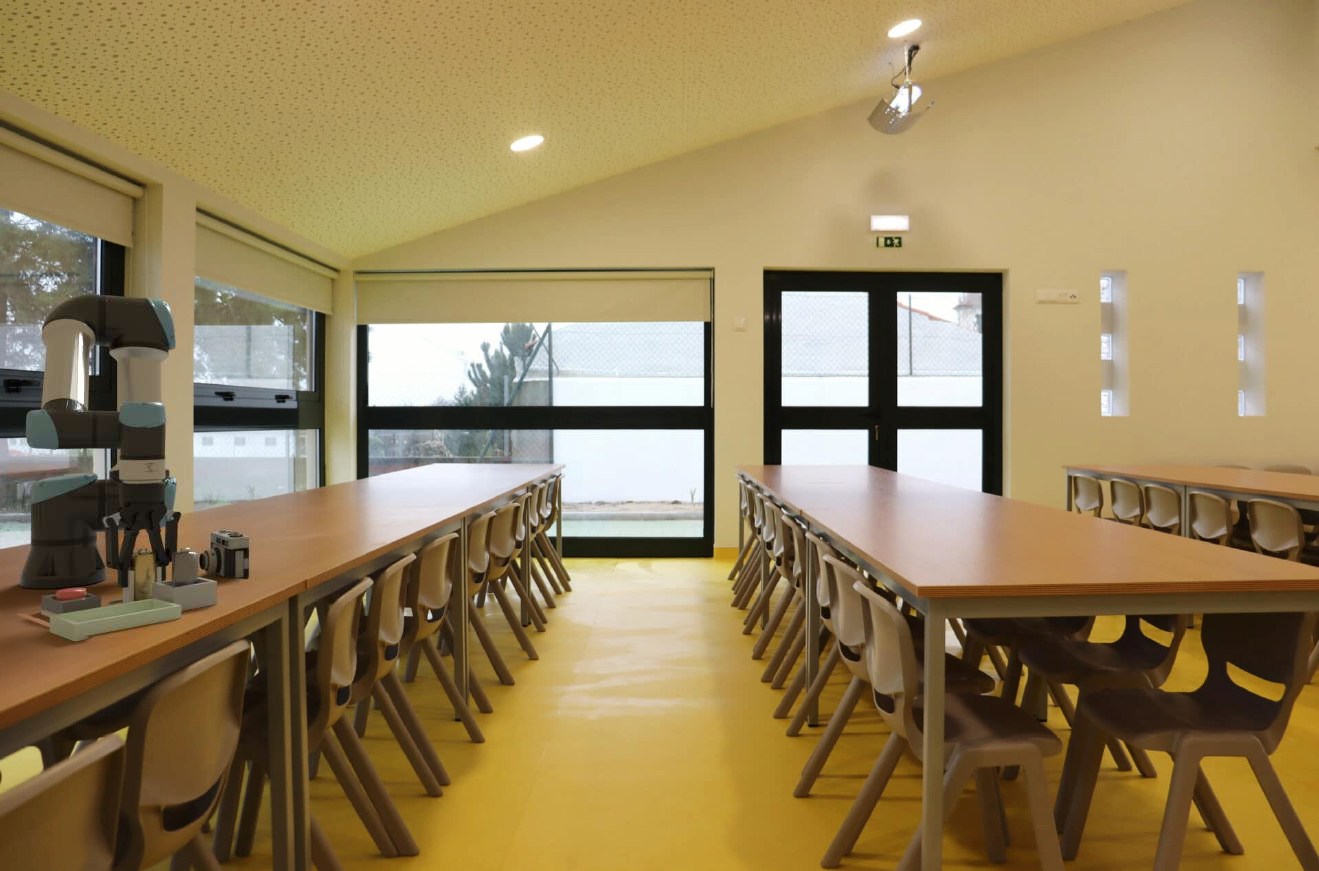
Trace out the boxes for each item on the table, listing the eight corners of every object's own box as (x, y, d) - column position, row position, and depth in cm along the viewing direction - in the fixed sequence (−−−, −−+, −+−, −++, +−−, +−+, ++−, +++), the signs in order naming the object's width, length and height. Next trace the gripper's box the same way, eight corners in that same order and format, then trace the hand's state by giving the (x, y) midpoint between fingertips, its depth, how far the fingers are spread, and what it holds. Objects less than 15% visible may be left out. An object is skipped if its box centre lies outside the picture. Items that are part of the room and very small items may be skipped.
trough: (49, 632, 136) (49, 615, 136) (155, 613, 150) (155, 598, 150) (74, 641, 131) (74, 624, 131) (181, 621, 145) (181, 605, 145)
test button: (52, 601, 147) (52, 590, 147) (79, 597, 150) (79, 586, 150) (62, 605, 144) (62, 593, 144) (90, 600, 148) (90, 589, 148)
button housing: (37, 615, 147) (37, 596, 147) (79, 608, 152) (79, 590, 152) (58, 623, 142) (58, 603, 142) (101, 616, 147) (101, 597, 147)
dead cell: (167, 605, 154) (167, 548, 154) (191, 601, 157) (192, 546, 157) (177, 608, 151) (178, 550, 151) (202, 604, 155) (202, 548, 155)
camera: (191, 573, 187) (192, 530, 187) (230, 569, 193) (230, 528, 193) (210, 583, 177) (211, 538, 177) (250, 578, 183) (251, 534, 183)
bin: (152, 609, 153) (152, 582, 153) (195, 601, 160) (195, 576, 160) (173, 615, 149) (173, 588, 149) (217, 607, 156) (217, 581, 155)
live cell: (124, 605, 156) (124, 549, 155) (148, 601, 159) (149, 546, 159) (135, 608, 153) (135, 552, 153) (159, 604, 157) (160, 549, 157)
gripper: (101, 485, 147) (100, 613, 147) (198, 480, 161) (198, 596, 162) (82, 482, 151) (82, 607, 151) (179, 477, 165) (179, 591, 166)
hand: (142, 601), depth 156 cm, fingers closed on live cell, 4 cm apart
